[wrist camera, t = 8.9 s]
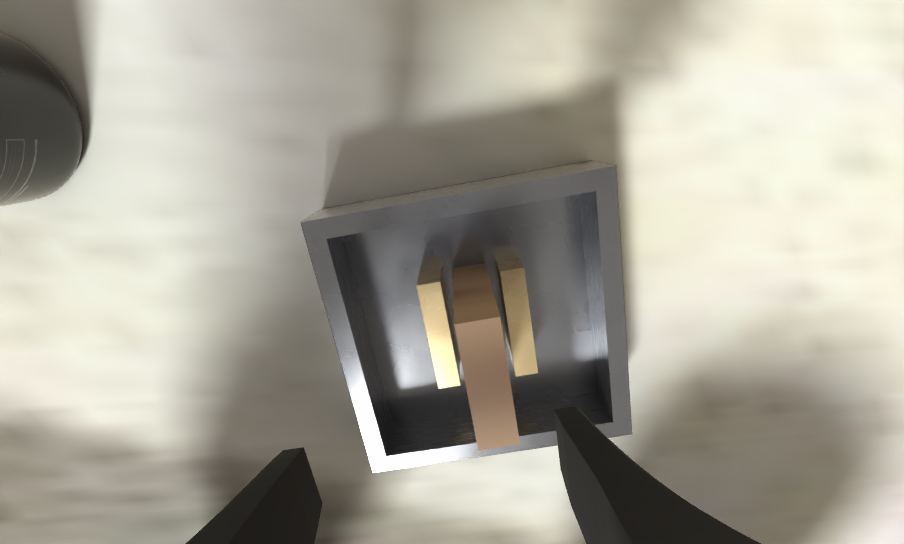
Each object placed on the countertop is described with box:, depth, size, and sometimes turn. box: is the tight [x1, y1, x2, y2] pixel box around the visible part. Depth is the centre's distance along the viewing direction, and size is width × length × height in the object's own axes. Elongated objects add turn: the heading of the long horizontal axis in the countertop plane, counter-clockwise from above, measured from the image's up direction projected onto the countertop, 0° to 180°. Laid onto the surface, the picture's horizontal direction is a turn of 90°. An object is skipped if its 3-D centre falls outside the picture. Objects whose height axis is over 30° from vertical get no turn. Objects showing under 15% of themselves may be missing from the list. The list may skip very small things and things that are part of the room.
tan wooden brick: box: [453, 263, 520, 451], centre depth 18 cm, size 5×2×6 cm, turn 10°
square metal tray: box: [300, 160, 632, 473], centre depth 20 cm, size 12×12×3 cm
